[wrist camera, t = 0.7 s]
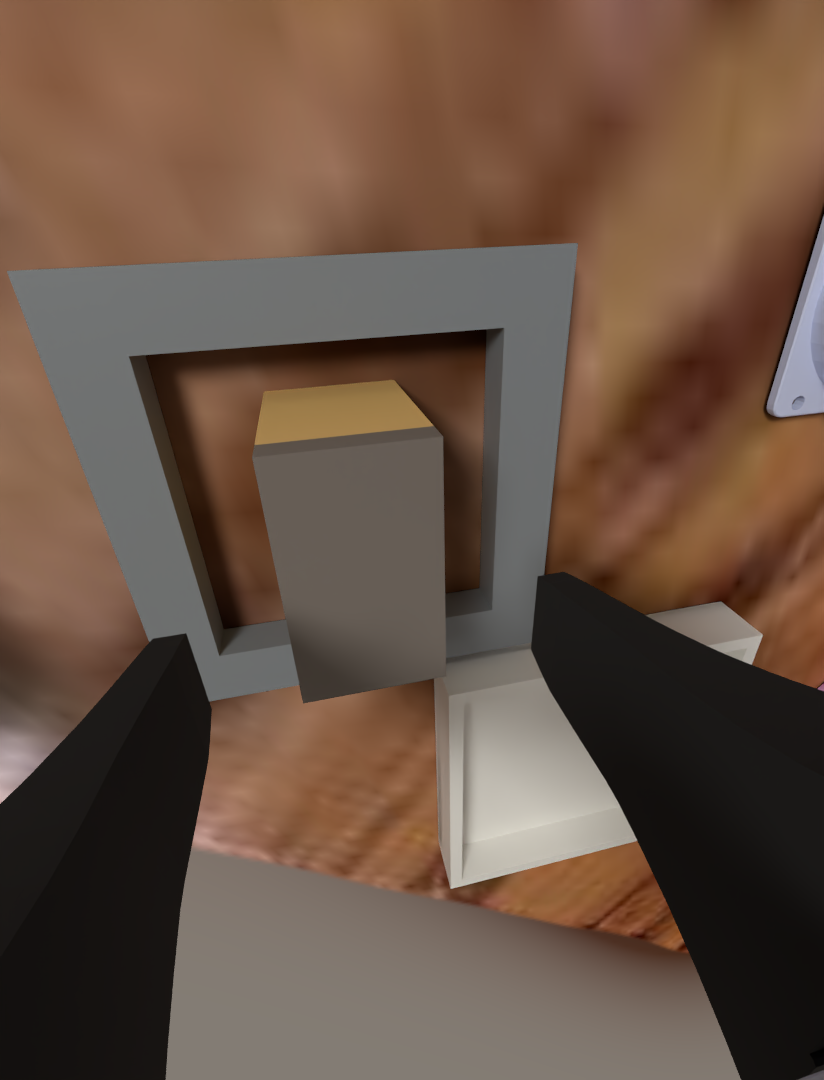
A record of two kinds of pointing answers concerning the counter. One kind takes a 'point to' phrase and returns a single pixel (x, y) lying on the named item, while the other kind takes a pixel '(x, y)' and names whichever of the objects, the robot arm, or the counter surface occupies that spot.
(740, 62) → the counter surface
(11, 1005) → the robot arm
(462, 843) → the parts tray
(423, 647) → the tan and grey block
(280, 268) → the gray square ring
